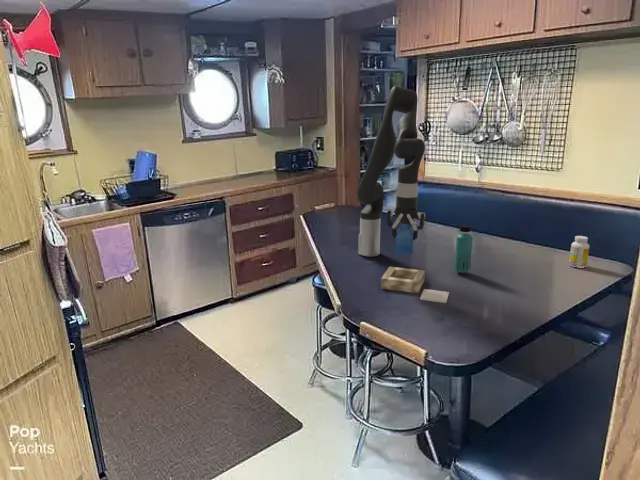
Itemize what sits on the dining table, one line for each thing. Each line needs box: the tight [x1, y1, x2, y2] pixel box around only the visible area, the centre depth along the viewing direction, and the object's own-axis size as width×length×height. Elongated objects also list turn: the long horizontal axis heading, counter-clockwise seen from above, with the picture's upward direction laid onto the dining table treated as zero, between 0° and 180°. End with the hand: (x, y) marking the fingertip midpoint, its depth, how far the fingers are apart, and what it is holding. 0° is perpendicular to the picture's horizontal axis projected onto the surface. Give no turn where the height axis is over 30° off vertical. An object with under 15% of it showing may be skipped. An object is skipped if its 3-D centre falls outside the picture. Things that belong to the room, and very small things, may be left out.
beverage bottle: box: [453, 224, 473, 273], centre depth 186 cm, size 6×7×20 cm
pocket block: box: [380, 266, 426, 294], centre depth 177 cm, size 14×14×4 cm
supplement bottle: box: [568, 235, 590, 267], centre depth 194 cm, size 7×7×13 cm
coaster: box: [419, 288, 450, 304], centre depth 166 cm, size 9×9×1 cm
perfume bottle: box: [394, 220, 414, 255], centre depth 172 cm, size 6×6×12 cm
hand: (404, 238), depth 173 cm, fingers closed on perfume bottle, 6 cm apart
